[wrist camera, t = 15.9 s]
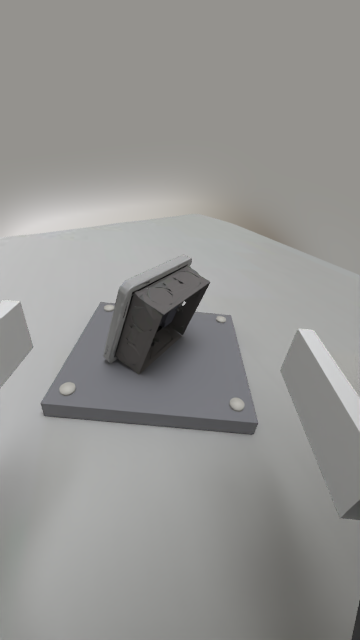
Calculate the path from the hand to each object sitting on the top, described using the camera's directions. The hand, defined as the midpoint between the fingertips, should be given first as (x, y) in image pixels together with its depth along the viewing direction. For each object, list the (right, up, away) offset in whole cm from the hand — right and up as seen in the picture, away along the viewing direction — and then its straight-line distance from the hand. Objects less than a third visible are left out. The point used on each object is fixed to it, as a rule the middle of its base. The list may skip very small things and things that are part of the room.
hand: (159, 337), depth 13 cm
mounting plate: (-1, -3, +15) cm, 15 cm away
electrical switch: (-2, -2, +14) cm, 14 cm away
